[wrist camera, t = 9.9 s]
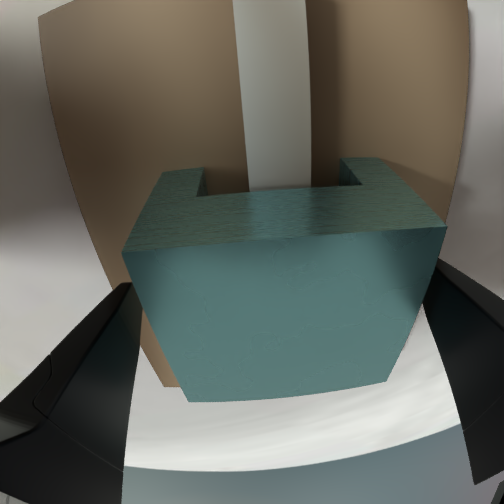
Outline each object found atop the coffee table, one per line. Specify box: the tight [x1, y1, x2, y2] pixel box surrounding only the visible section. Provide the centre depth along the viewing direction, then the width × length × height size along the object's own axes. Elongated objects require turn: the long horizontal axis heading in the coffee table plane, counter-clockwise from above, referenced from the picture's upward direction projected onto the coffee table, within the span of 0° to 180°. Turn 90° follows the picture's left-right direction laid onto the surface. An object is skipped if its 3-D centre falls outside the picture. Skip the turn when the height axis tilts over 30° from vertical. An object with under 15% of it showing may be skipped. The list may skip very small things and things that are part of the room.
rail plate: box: [38, 0, 469, 387], centre depth 10 cm, size 13×18×2 cm
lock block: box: [121, 157, 447, 402], centre depth 9 cm, size 6×6×4 cm
